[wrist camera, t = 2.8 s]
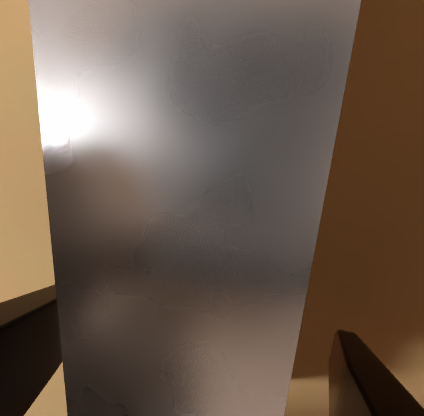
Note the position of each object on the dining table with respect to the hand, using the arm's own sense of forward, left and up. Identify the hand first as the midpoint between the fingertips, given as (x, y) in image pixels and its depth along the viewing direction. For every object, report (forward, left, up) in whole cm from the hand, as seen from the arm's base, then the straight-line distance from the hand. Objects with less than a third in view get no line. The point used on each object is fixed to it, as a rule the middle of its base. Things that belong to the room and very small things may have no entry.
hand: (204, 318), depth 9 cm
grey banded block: (+6, 0, -1) cm, 7 cm away
